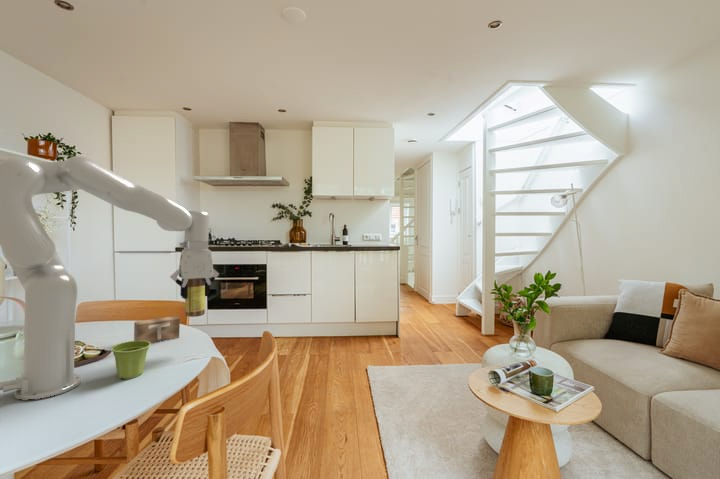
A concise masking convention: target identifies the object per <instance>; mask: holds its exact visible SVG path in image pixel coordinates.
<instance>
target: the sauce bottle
mask: <svg viewBox="0 0 720 479" xmlns="http://www.w3.org/2000/svg"><path fill="white" fill-rule="evenodd" d="M186 287H187V298H186V299H184V302H185V303H184V304H185V305H184V306H185V307H184V308H185V309H184V311H185V316H186V317H190V318H194V317H196V318H197V317H200V316H203V315H205V314H206V313H205V312H206V296H205V281H204V278H202V279H198V278H197V279H189V280H188V282H187V284H186Z"/></svg>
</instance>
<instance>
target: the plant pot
mask: <svg viewBox="0 0 720 479" xmlns="http://www.w3.org/2000/svg"><path fill="white" fill-rule="evenodd" d="M151 345H152V343H150V342H148V341H134V340H131V341H124V342H121V343H118V344H115V345H114V346H112V347H111V349H110V350H111V351H112V353H113V354H112V355H113V356H114V361H115V366H116V367H115V368H116V374H117V378H118V379H125V380H128V379H132V378H136V377H139V376H140V375H142V374H143V373H144V370H145V364H146V359H147V353H148V351H149V348H150V346H151Z"/></svg>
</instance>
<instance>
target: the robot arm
mask: <svg viewBox="0 0 720 479" xmlns="http://www.w3.org/2000/svg"><path fill="white" fill-rule="evenodd" d="M78 190H81V191H84V192H85V193H88V194H90V195H92V196H94V197H96V198H99V199H101V200H103V201H104V202H106V203H108V204H110V205H112V206H114V207H117V208H118V209H121V210H124V211H127V212H132V213H135V214H139V215H142V216H145V217H147V218H150V219H152V220H153V221H156V223H157V225H158V227H159V228H161V229H162V230H164V231H168V232H184V234H183V235H184V240H183V242H180V243H179V247H182V248H183V249H181V253H180V258H179V265H178V269H177V270H176V271H174V272H173V273H172V274H171V275H170V277H169V278H170V279H171V280H172V281H173V282H175V284H177V285H178V286H179V287H180V294H179V295H180V297H181V298H182V299H184V300H185V299H186V298H187V287H186V284H187V282H188V280H189V279H197V278H198V279H202V278H204V281H205V297H209V294H210V288H211V287H210V286H211V285H212V283H213V282H214V281H215V280H216V278H218V276H219V275H220V273H219V271H217V270H216V269H215V268H214V265H213V256H212V255H213V254H212V250H210V249H209V235H210V234H209V233H210V232H209V231H210V229H209V228H210V214H209V213H208V212H206V211H203V210H188V209H186V208H184V207H183V206H181V205H179V204H177V203H175V202H174V201H173V200H170V199H169V198H167V197H165V196H162V195H160V194H159V193H156V192H154V191H151V190H149V189H148V188H145V187H143V186H141V185H138V184H136V183H135V182H132V181H130V180H129V179H127V178H125V177H124V176H122V175H119V174H118V173H116V172H114V171H112V170H111V169H110V168H107V167H106V166H104V165H102V164H100V163H98V161H97V162H96V161H95V160H93V159H90V158H88V157H85V156H81V155H79V156H78V155H76V156H72V157H69V158H67V159H65V160H62V161H60V160H59V161H52V162H51V161H48V162H35V161H34V160H31V159H27V158H24V157H23V158H22V157H14V158H13V157H12V158H8V159H4V160H3V161H0V248H1V253H2V255H3V256H4V258H5V259H6V261H7V263H8V264H9V265H10V267H11V269H12V271H13V273H14V274H15V276H16V277H17V279H18V281H19V282H20V284H21V286H22V287H23V289H24V324H23V325H24V326H23V327H24V328H23V329H24V331H23V333H24V334H23V336H24V339H23V340H24V342H23V372H22V374H21V376H19V377H16V378H15V379H13V380H6V381H1V382H0V391H2V393H7V392H10V391H14V392H13V393H14V394H13V396H14V398H15V399H16V400H19V399H22V400H21V401H29V400H28V399H35V400H41V399H40V398H42V399H45V398H46V397H47V398H50V396H51V397H54V395H55V396H57V395H61V394H64V393H67V392H68V391H71V390H72V389H74V388H77V387H78V386H79V385H80V384H81V383H82V376H81V375H79V374H77V373H75V349H76V348H75V346H76V345H75V343H76V341H75V340H76V308H77V300H78V284H77V281H76V279H75V278H74V277H73V275H71V274H70V273H69V272H68V271H67V269H66V267H65V265H64V263H63V261H62V259H61V258H60V256H59V254H58V252H57V248H56V245H55V242H54V241H53V239H52V238H51V237H50V236H49V234H48V233H47V231H46V230H45V227H44V226H43V224H42V222H41V220H40V217H39V216H38V213H37V211H36V210H35V208H34V205H33V201H32V200H33V199H32V197H33V195H35V196H36V195H43V194H45V195H46V194H52V193H55V194H56V193H62V192H69V191H70V192H72V191H78ZM178 277H179V278H178ZM47 398H46V399H47Z"/></svg>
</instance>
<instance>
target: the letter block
mask: <svg viewBox="0 0 720 479" xmlns="http://www.w3.org/2000/svg"><path fill="white" fill-rule="evenodd" d="M180 322H181V319H180V317H178V316H177V315H173V316H172V315H171V316H166V317H160V318H152V319H145V320H138V321H134V325H133V326H134V329H133V341H148V342H150V343H151V344H156V343H160V341H161V342H165V341H164V340H167V341H171V340H170V339H172V340H175V339H174V338H177V339H179V338H180ZM155 342H156V343H155Z"/></svg>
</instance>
